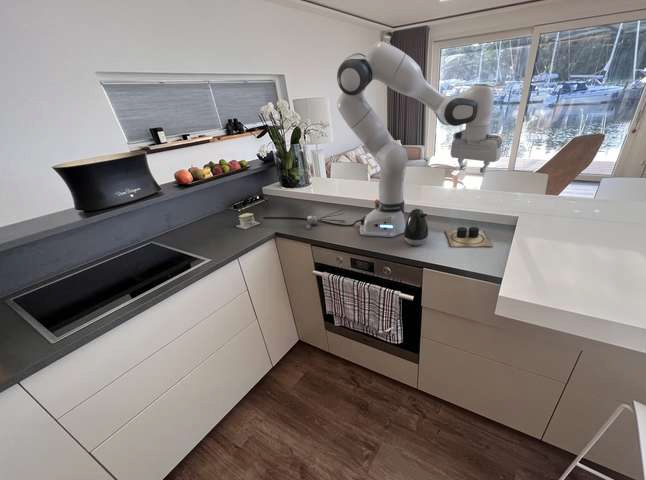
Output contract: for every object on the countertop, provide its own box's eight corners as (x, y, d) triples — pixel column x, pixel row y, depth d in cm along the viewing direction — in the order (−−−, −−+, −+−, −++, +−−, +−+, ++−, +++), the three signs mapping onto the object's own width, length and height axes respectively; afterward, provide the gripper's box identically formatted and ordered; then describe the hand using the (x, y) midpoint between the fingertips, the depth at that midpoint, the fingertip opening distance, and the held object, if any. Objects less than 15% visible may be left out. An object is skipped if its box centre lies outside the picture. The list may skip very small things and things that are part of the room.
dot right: (472, 238, 122) (473, 231, 120) (466, 235, 125) (467, 227, 124) (480, 236, 123) (481, 229, 121) (474, 233, 126) (475, 226, 125)
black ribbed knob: (459, 238, 123) (460, 231, 121) (454, 235, 126) (455, 227, 125) (467, 237, 123) (468, 229, 122) (463, 233, 127) (464, 226, 125)
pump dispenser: (416, 250, 117) (417, 215, 110) (398, 242, 125) (399, 209, 117) (433, 243, 122) (435, 208, 115) (415, 235, 130) (416, 203, 122)
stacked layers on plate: (245, 229, 150) (242, 219, 147) (235, 226, 155) (232, 216, 152) (261, 223, 156) (258, 213, 154) (251, 220, 161) (249, 211, 159)
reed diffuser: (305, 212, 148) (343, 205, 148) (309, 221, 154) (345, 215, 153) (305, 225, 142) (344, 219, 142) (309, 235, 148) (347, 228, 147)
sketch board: (450, 247, 118) (450, 245, 118) (445, 231, 132) (445, 230, 131) (491, 247, 116) (491, 245, 115) (482, 231, 129) (482, 230, 129)
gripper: (507, 134, 104) (500, 173, 110) (459, 132, 118) (456, 166, 125) (498, 136, 100) (491, 176, 107) (449, 134, 115) (446, 169, 122)
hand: (472, 171), depth 116 cm, fingers open, 8 cm apart
